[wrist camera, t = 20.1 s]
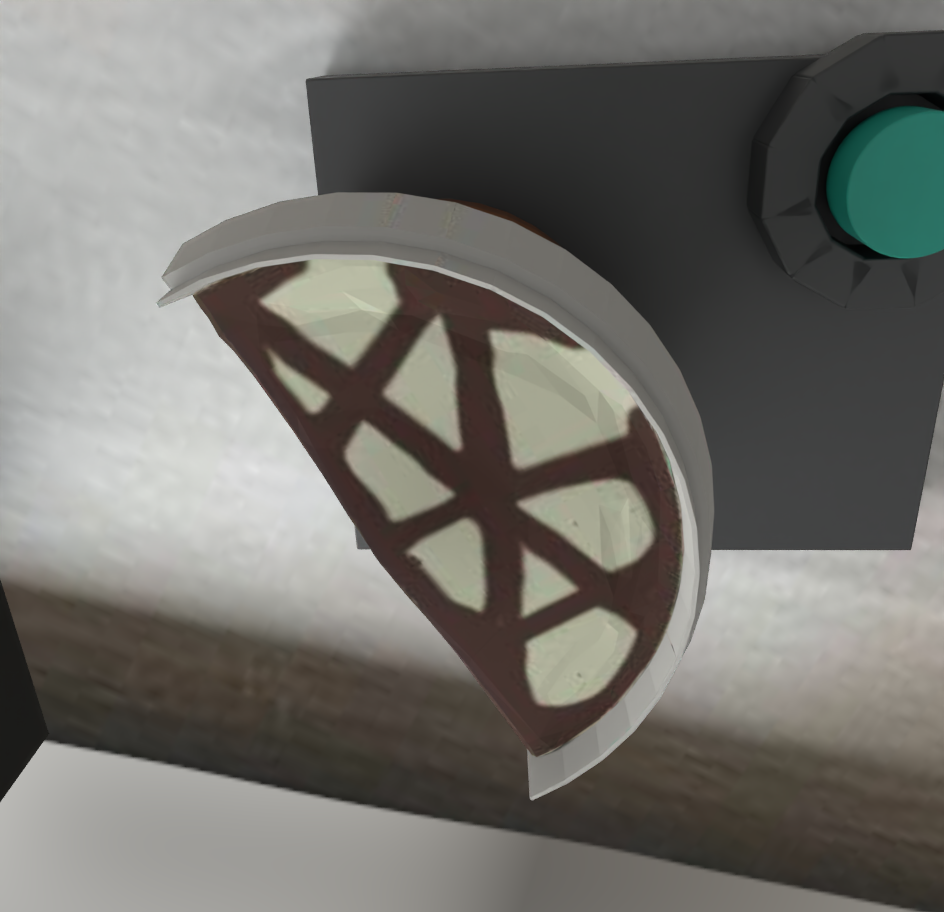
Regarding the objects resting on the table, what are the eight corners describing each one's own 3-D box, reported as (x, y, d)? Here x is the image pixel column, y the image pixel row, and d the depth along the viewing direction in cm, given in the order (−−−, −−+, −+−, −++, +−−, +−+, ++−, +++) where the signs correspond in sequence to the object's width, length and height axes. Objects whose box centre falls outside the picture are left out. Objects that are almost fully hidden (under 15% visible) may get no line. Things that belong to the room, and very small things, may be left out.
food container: (739, 456, 25) (854, 700, 16) (543, 550, 26) (545, 819, 17) (512, 33, 21) (489, 31, 12) (298, 176, 22) (132, 272, 13)
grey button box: (994, 26, 21) (1072, 25, 18) (903, 518, 27) (951, 581, 24) (320, 56, 23) (285, 60, 20) (367, 519, 28) (346, 579, 25)
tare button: (976, 102, 19) (1011, 107, 18) (951, 242, 21) (981, 257, 19) (834, 108, 20) (856, 113, 18) (817, 245, 21) (837, 261, 19)
